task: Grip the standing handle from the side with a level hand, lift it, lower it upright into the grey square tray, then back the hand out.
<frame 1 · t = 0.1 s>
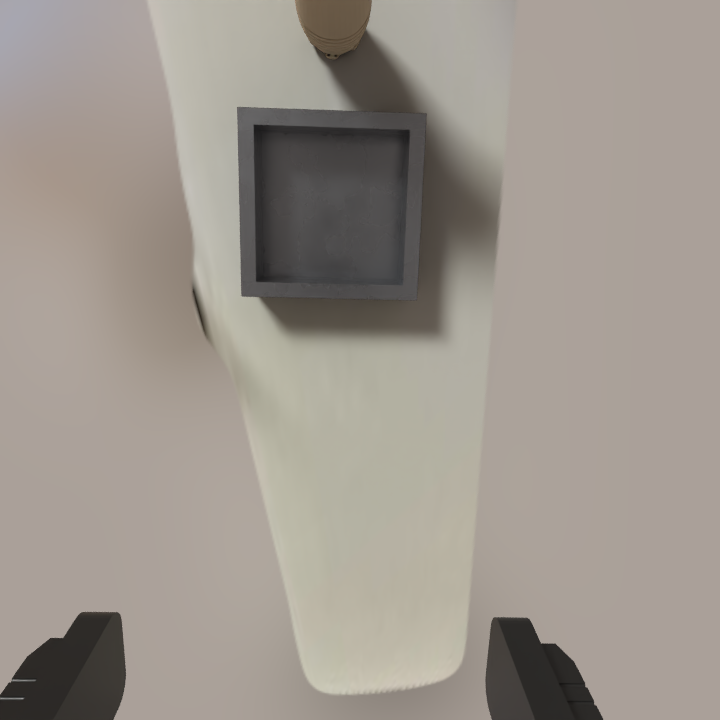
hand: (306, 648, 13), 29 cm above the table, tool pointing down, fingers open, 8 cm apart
handle: (334, 33, 36), on the table
grey square tray: (332, 208, 39), on the table
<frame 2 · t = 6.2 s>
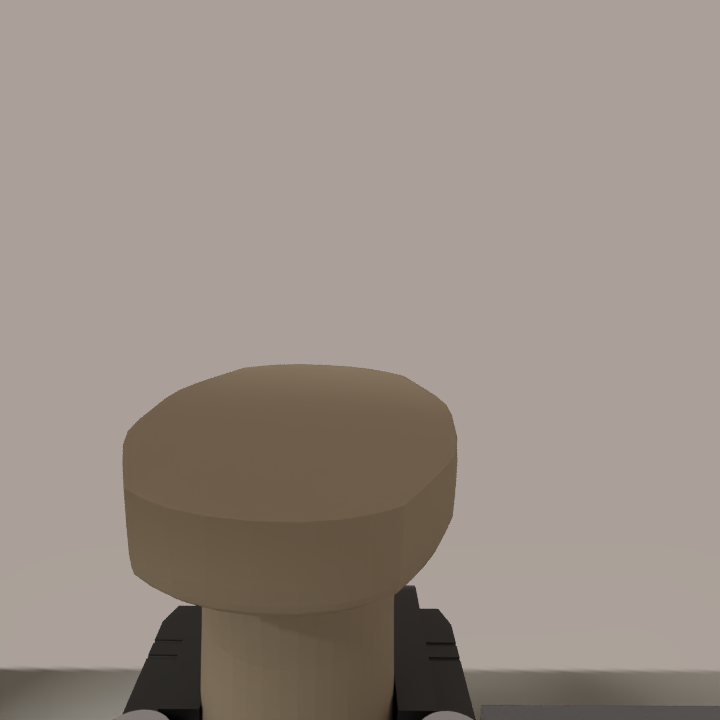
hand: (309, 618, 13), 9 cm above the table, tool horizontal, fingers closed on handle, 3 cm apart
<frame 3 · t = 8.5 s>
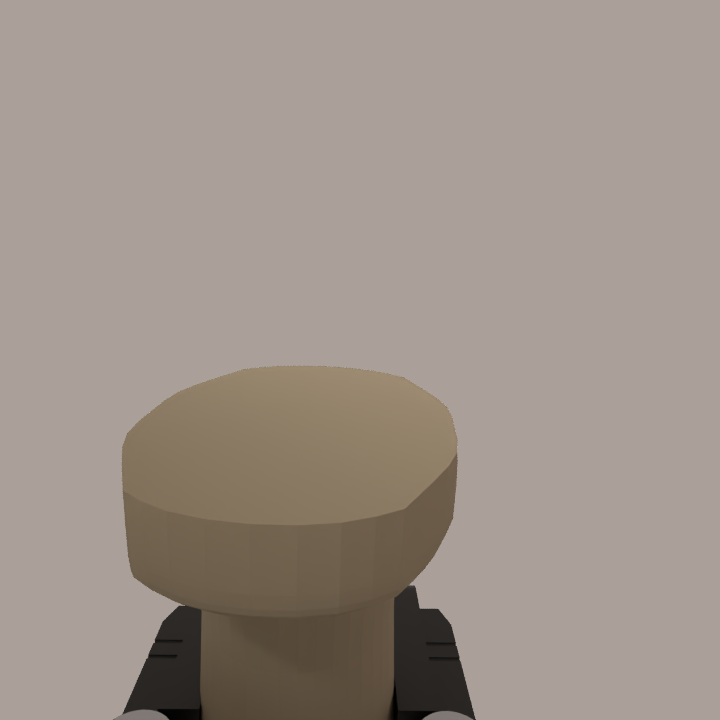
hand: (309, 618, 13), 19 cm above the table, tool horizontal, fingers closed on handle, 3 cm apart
when the fingers open (11 cm above the table, at t = 10.7 s): handle drops 1 cm, resting on grey square tray.
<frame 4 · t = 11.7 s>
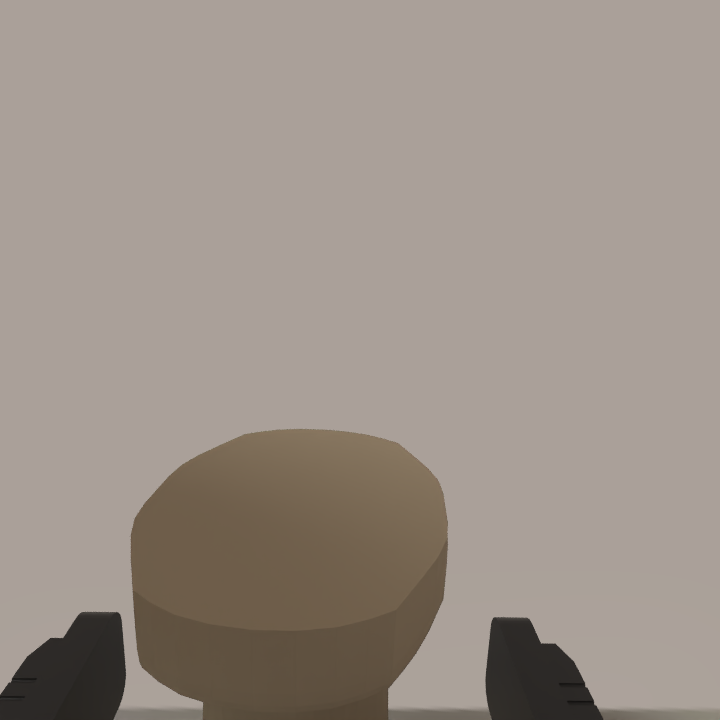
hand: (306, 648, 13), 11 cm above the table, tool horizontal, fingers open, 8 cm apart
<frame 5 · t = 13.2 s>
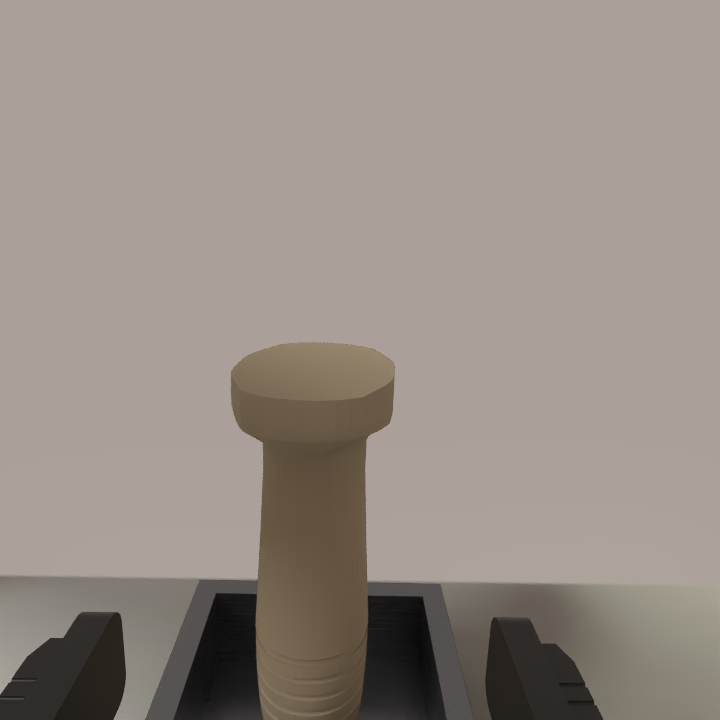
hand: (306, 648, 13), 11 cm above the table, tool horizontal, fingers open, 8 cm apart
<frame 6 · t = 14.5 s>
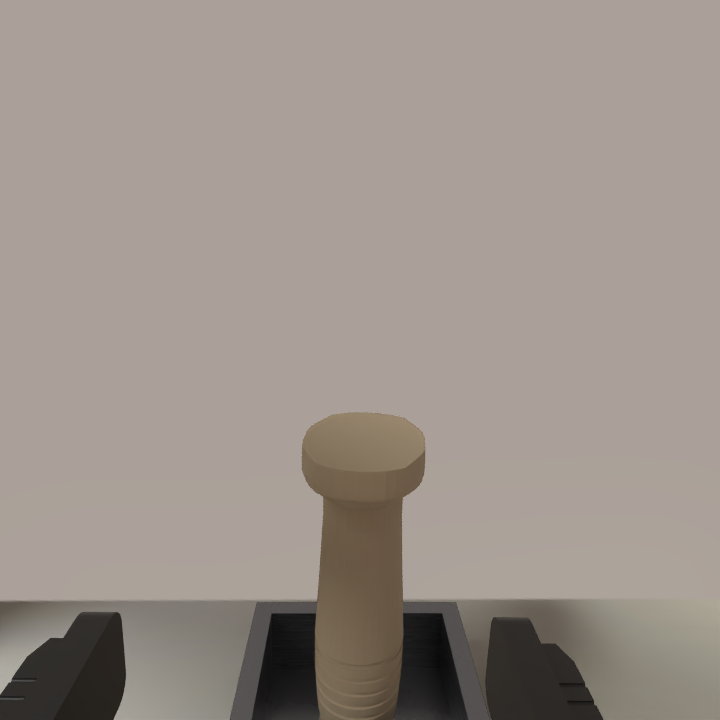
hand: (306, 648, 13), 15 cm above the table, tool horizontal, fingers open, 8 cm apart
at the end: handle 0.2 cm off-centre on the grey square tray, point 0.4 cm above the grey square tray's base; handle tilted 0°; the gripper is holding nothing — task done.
